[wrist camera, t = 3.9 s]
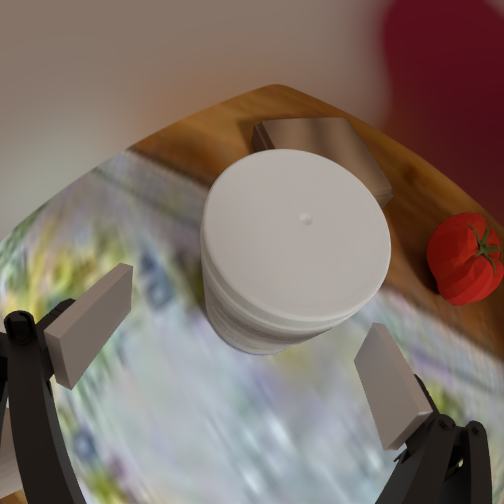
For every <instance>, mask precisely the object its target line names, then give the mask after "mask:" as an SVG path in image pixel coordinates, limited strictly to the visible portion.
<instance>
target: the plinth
mask: <svg viewBox="0 0 504 504" xmlns="http://www.w3.org/2000/svg"><path fill="white" fill-rule="evenodd" d="M251 143H252V145H253V147H254V149H255V152H256V153H257V152H261V151H266V150H273V149H293V150H300V151H305V152H310V153H313V154H316V155H319V156H322V157H324V158H327V159H329V160H331V161H333V162H335V163H337V164H338V165H340V166H342V167H343V168H345V169H346V170H348V171H349V172H350V173H352V174H353V175H354V176H355V177H356V178H358V179H359V180H360V181H361V182H362V183H363V184H364V185H365V187H366V188H367V189H368V190H369V191H370V192H371V194H372V195H373V197H374V198H375V199H376V201H377V203H378V204H379V206H380V208H381V210H382V209H383V208H384V207H385V206H386V205H387V204H388V203H389V201H390V200H391V199H392V198H393V197H394V196H393V194H392V192H391V190H392V189H393V188H392V186H391V184H390V183H389V181H388V179H387V178H386V176H385V174H384V173H383V171H382V170H381V168H380V166H379V165H378V163H377V162H376V160H375V159H374V157H373V156H372V154H371V153H370V151H369V150H368V148H367V147H366V145H365V144H364V142H363V141H362V139H361V138H360V137H359V135H358V134H357V132H356V131H355V130H354V128H353V127H352V126H351V124H350V123H349V122H348V120H347V119H346V118H296V119H279V120H266V121H261V124H258V125H254V130H253V136H252V141H251Z"/></svg>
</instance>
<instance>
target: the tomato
mask: <svg viewBox="0 0 504 504" xmlns="http://www.w3.org/2000/svg"><path fill="white" fill-rule="evenodd" d="M487 223H488V221H487V222H486V221H485V219H484V217H483V216H481V215H480V214H478V213H461V214H458V215H455V216H453V217H451V218H449V219H447V220H446V221H444V222H443V223H441V224H440V225H439V226H438V227H437V228H436V230H435V231H434V232H433V234H432V235H431V237H430V239H429V241H428V243H427V255H426V258H427V262H428V266H429V268H430V270H431V272H432V274H433V276H434V277H435V279H436V281H437V286H438V291H439V292H440V294H441V296H442V297H443V298H444V299H445V300H446V301H448V302H449V303H451V304H452V305H455V306H460V305H463V304H466V303H469V302H477V301H480V300H483V299H484V298H485V297H487V296H488V295H490V294H491V293H492V292H493V291H494V290H495V289H496V288H497V286H498V285H499V284H500V283H501V281H502V278H503V275H504V266H503V264H502V263H501V261H500V260H499V257H500V254H501V251H503V252H504V250H503V249H502V248H501V246H500V240H499V238H498V236H497V234H496V232H495V230H494V229H492V228H490V227H489V225H488V226H487Z"/></svg>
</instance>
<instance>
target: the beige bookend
mask: <svg viewBox="0 0 504 504" xmlns="http://www.w3.org/2000/svg"><path fill="white" fill-rule="evenodd" d="M20 489H23V485H22V481H21V477H20V473H19V469H18V464H17V460H16V455H15V449H14V443H13V437H12V430H11V422H10V412H9V408H6V409H5V415H4V421H3V429H2V437H1V447H0V499H1V498H3V497H5V496H7V495H9V494H12V493H14V492H16V491H18V490H20Z"/></svg>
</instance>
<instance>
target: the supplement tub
mask: <svg viewBox="0 0 504 504" xmlns="http://www.w3.org/2000/svg"><path fill="white" fill-rule="evenodd" d="M200 249H201V263H202V273H203V284H204V293H205V303H206V310H207V315H208V319H209V322H210V324H211V326H212V328H213V329H214V331H215V333H216V334H217V335H218V336H219V337H220V339H221V340H222V341H224V342H225V343H226V344H227V345H228V346H230V347H231V348H233V349H235V350H237V351H239V352H242V353H245V354H249V355H255V356H264V355H272V354H275V353H279V352H281V351H284V350H286V349H288V348H291V347H293V346H295V345H298V344H300V343H302V342H304V341H306V340H308V339H311V338H313V337H315V336H317V335H319V334H321V333H323V332H325V331H327V330H329V329H331V328H333V327H335V326H336V325H338V324H340V323H342V322H343V321H345V320H346V319H348V318H349V317H350V316H352V315H353V314H354V313H356V312H357V311H358V310H359V309H360V308H361V307H362V306H363V305H364V304H366V303H367V302H368V301H369V300H370V299H371V298H372V297H373V296H374V295H375V293H376V292H377V291H378V289H379V288H380V286H381V284H382V283H383V281H384V278H385V276H386V274H387V270H388V267H389V263H390V256H391V241H390V234H389V229H388V225H387V222H386V219H385V217H384V214H383V212H382V210H381V208H380V206H379V204H378V203H377V201H376V199H375V198H374V197H373V195H372V194H371V192H370V191H369V190H368V189H367V188H366V187H365V185H364V184H363V183H362V182H361V181H360V180H359V179H358V178H356V177H355V176H354V175H353V174H352V173H350V172H349V171H348V170H346V169H345V168H343V167H342V166H340V165H338V164H337V163H335V162H333V161H331V160H329V159H327V158H324V157H322V156H319V155H316V154H313V153H310V152H305V151H300V150H293V149H273V150H266V151H261V152H257V153H254V154H251V155H248V156H246V157H244V158H242V159H240V160H238V161H236V162H235V163H233V164H232V165H231V166H229V167H228V168H227V169H225V170H224V171H223V172H222V173H221V175H220V176H219V177H218V178H217V179H216V181H215V182H214V184H213V185H212V187H211V189H210V191H209V193H208V195H207V198H206V201H205V204H204V208H203V216H202V222H201V228H200Z"/></svg>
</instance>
